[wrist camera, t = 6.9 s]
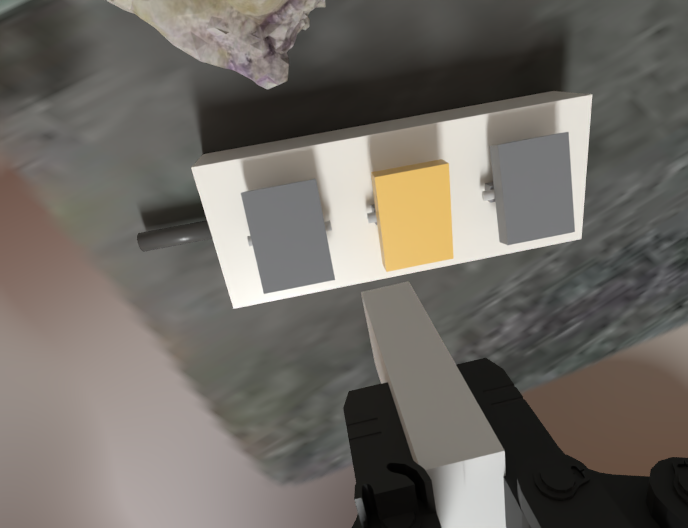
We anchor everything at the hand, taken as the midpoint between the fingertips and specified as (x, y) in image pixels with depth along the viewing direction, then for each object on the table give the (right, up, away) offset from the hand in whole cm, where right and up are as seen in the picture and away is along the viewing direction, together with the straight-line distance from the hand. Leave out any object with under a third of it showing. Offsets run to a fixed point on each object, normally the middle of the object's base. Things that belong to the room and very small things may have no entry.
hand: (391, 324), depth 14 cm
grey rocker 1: (-5, +4, +12) cm, 13 cm away
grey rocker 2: (+9, +6, +12) cm, 17 cm away
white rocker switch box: (-1, +7, +16) cm, 18 cm away
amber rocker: (+2, +5, +12) cm, 13 cm away
